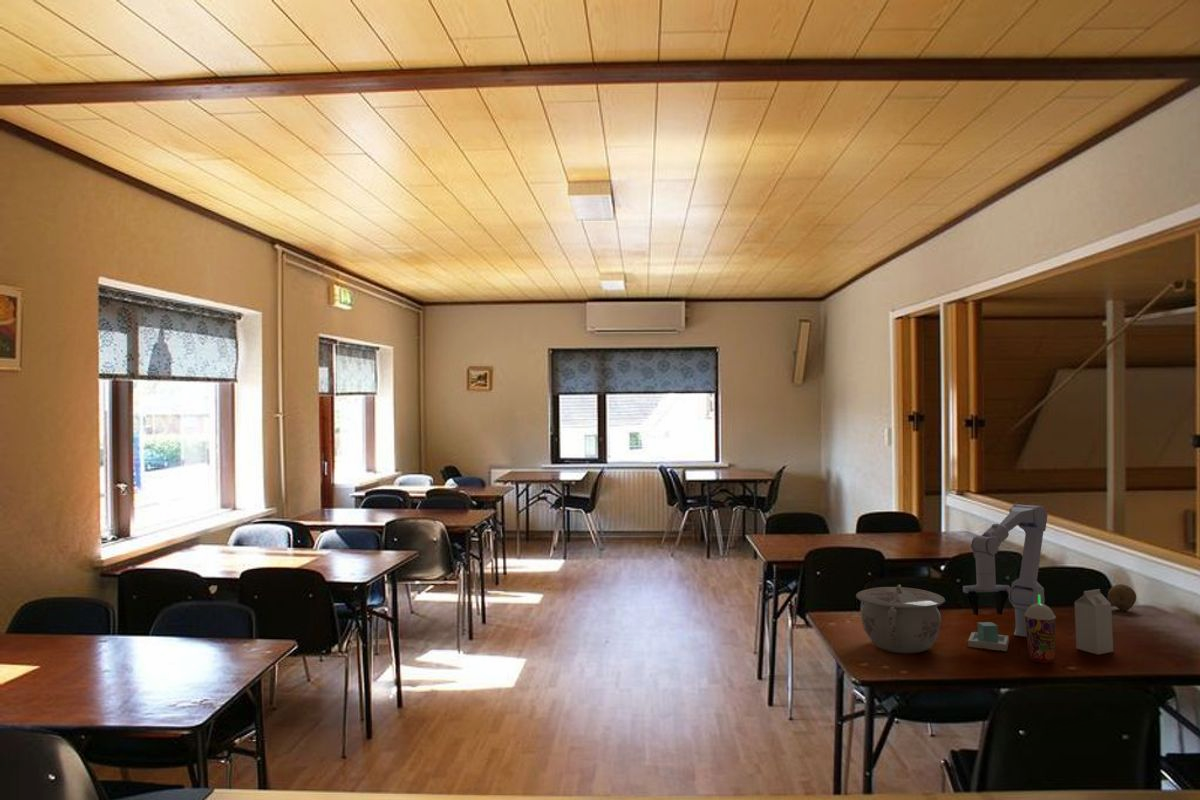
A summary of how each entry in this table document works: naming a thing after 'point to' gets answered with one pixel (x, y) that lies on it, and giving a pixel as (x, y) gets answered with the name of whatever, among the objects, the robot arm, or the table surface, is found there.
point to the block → (987, 632)
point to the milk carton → (1093, 623)
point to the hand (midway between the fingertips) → (987, 614)
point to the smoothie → (1040, 632)
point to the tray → (1001, 644)
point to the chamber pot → (901, 618)
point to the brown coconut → (1122, 597)
